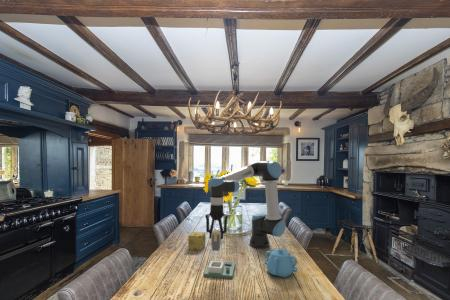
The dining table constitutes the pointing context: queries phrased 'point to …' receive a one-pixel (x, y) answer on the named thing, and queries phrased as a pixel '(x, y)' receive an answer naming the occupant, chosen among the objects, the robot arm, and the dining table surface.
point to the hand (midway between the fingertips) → (216, 244)
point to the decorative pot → (280, 263)
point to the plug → (215, 240)
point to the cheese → (196, 240)
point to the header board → (220, 269)
